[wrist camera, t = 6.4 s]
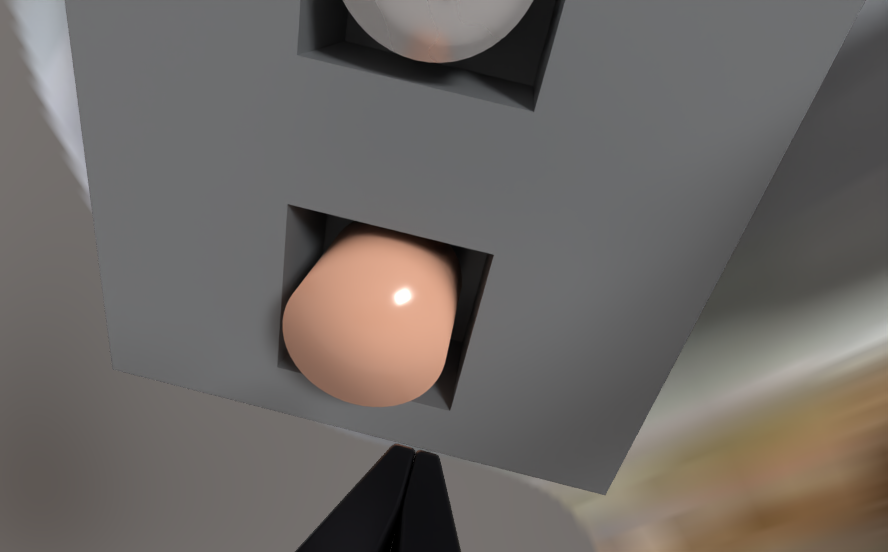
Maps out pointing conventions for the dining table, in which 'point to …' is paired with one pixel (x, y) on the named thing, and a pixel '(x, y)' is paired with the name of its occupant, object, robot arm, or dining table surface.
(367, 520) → the robot arm
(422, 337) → the terracotta plunger
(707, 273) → the block
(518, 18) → the grey plunger
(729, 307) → the dining table surface
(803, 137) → the dining table surface
